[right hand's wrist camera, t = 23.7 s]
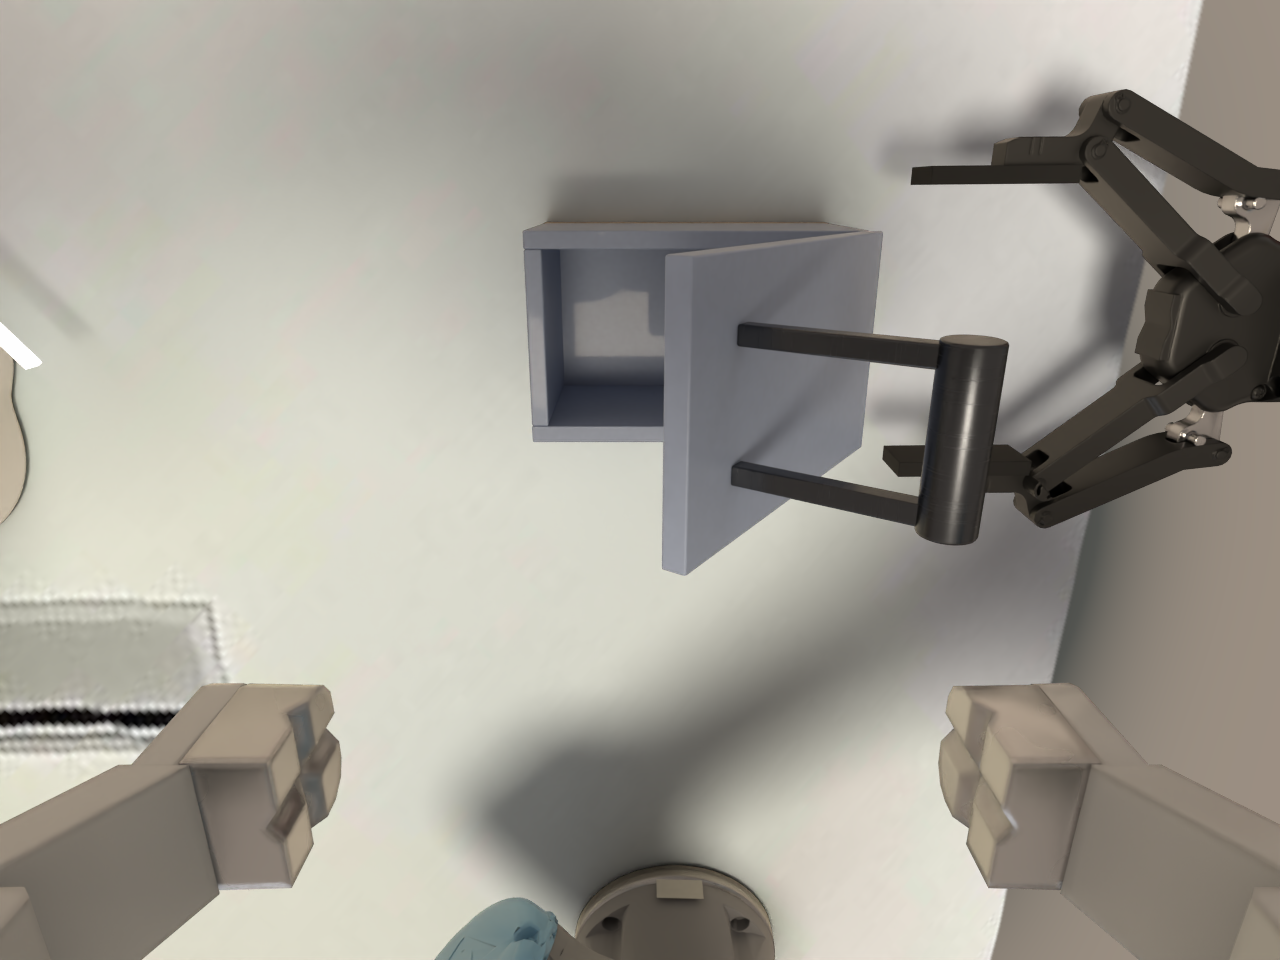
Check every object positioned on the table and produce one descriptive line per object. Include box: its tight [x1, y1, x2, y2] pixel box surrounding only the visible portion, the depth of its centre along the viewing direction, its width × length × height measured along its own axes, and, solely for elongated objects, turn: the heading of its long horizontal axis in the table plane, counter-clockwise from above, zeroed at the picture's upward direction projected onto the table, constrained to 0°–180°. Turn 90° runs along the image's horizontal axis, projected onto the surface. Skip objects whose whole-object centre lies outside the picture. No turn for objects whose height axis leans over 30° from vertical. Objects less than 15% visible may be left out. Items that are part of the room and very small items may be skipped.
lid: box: [662, 231, 1009, 576], centre depth 27 cm, size 16×10×9 cm
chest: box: [523, 222, 868, 442], centre depth 40 cm, size 15×10×9 cm, turn 90°
